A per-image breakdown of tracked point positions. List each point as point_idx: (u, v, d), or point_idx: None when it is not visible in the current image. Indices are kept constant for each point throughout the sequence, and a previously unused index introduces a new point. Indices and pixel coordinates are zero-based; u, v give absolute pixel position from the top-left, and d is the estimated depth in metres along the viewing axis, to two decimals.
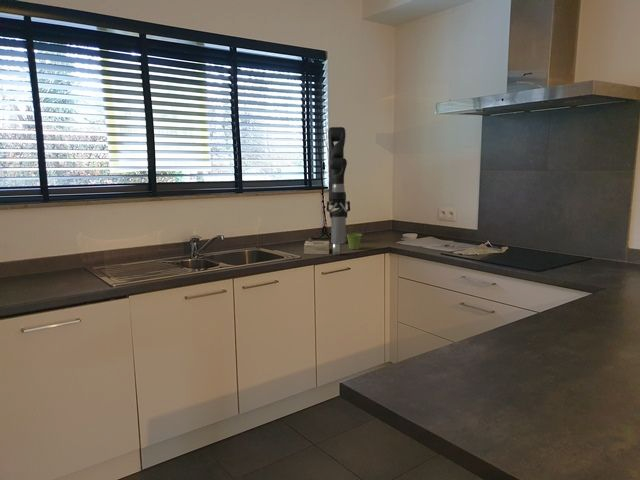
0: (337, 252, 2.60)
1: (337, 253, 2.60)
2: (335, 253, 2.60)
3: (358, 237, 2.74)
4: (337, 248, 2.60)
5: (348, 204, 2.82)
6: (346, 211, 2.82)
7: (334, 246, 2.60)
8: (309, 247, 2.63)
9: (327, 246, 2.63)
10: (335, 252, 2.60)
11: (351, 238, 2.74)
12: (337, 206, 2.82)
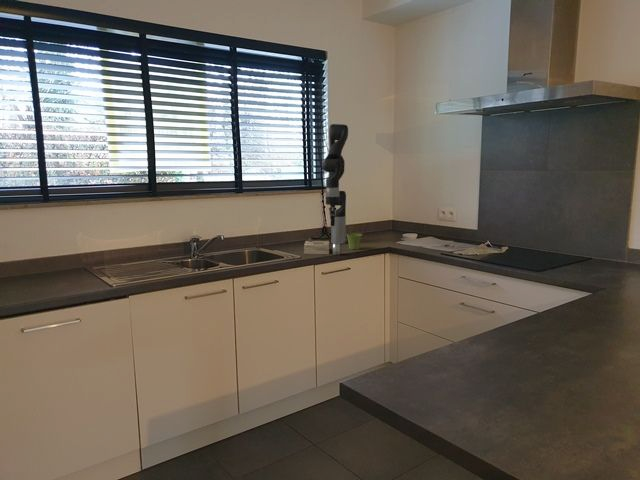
0: (337, 252, 2.60)
1: (337, 253, 2.60)
2: (335, 253, 2.60)
3: (358, 237, 2.74)
4: (337, 248, 2.60)
5: None
6: None
7: (334, 246, 2.60)
8: (309, 247, 2.63)
9: (327, 246, 2.63)
10: (335, 252, 2.60)
11: (351, 238, 2.74)
12: None
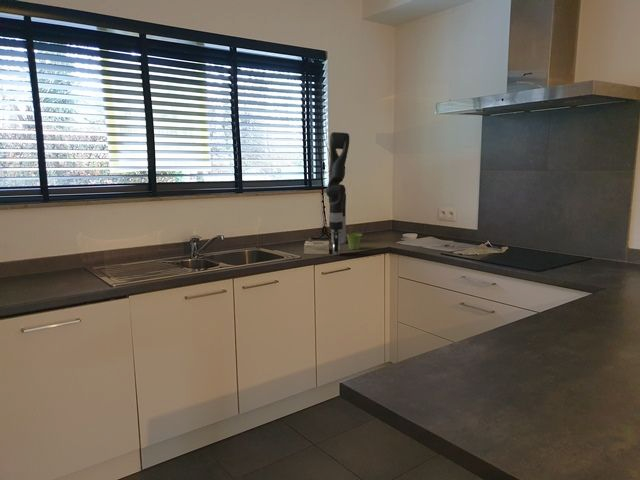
0: (337, 252, 2.60)
1: (337, 253, 2.60)
2: (335, 253, 2.60)
3: (358, 237, 2.74)
4: None
5: None
6: None
7: None
8: (309, 247, 2.63)
9: (327, 246, 2.63)
10: (335, 252, 2.60)
11: (351, 238, 2.74)
12: None
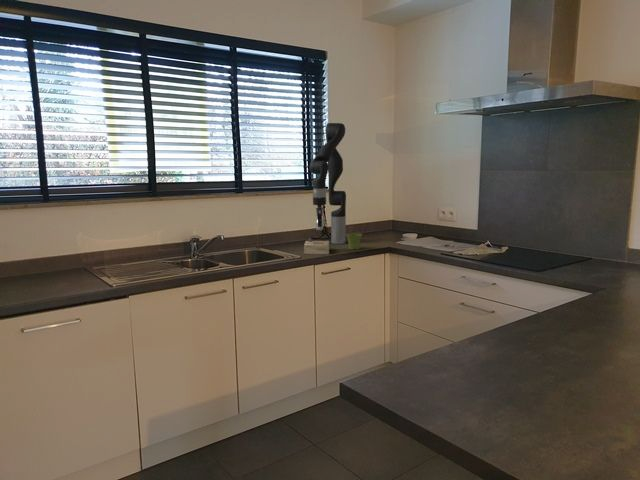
0: (321, 227, 2.67)
1: (321, 228, 2.67)
2: (319, 228, 2.67)
3: (358, 237, 2.74)
4: None
5: None
6: (321, 218, 2.71)
7: None
8: (309, 247, 2.63)
9: (327, 246, 2.63)
10: (319, 227, 2.67)
11: (351, 238, 2.74)
12: None
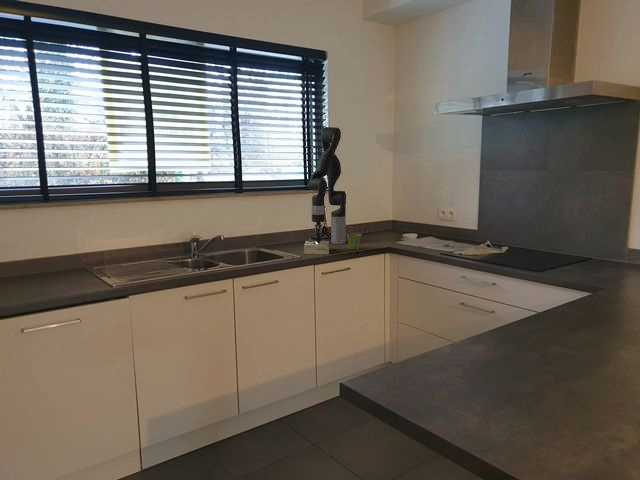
0: None
1: None
2: None
3: (358, 237, 2.74)
4: None
5: None
6: (320, 233, 2.74)
7: (316, 243, 2.69)
8: (309, 247, 2.63)
9: (327, 246, 2.63)
10: None
11: (351, 238, 2.74)
12: None
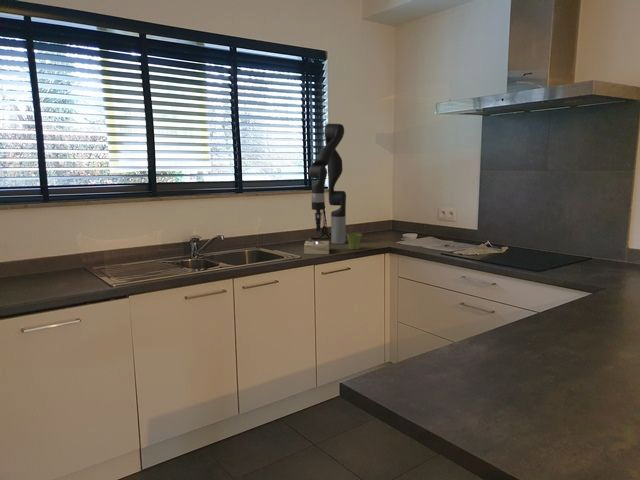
0: None
1: None
2: None
3: (358, 237, 2.74)
4: None
5: None
6: (320, 223, 2.72)
7: (316, 243, 2.69)
8: (309, 247, 2.63)
9: (327, 246, 2.63)
10: None
11: (351, 238, 2.74)
12: None
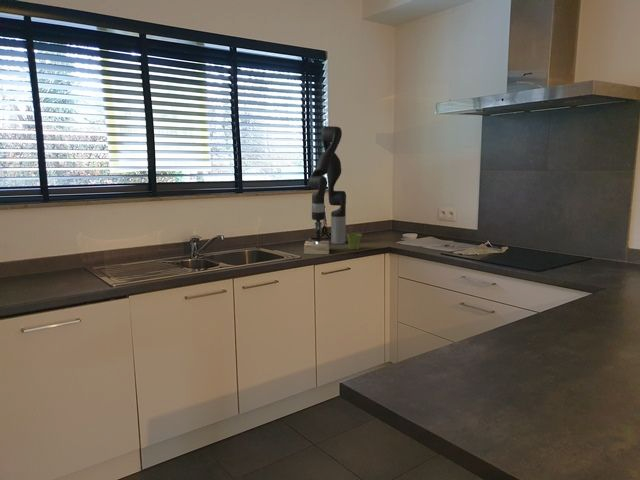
0: None
1: None
2: None
3: (358, 237, 2.74)
4: None
5: None
6: None
7: (316, 243, 2.69)
8: (309, 247, 2.63)
9: (327, 246, 2.63)
10: None
11: (351, 238, 2.74)
12: None
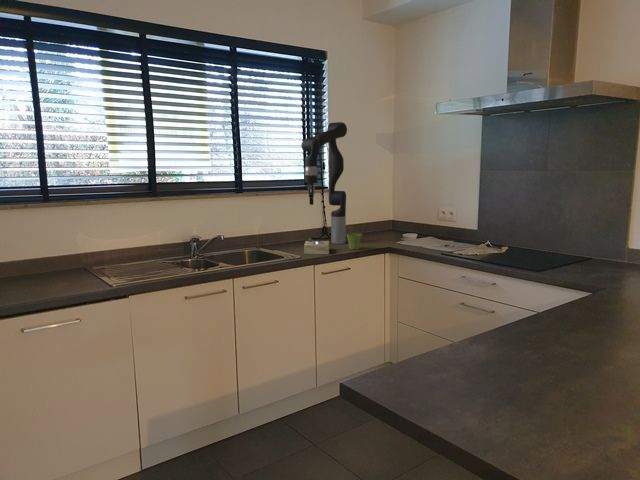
0: None
1: None
2: None
3: (358, 237, 2.74)
4: None
5: None
6: None
7: (316, 243, 2.69)
8: (309, 247, 2.63)
9: (327, 246, 2.63)
10: None
11: (351, 238, 2.74)
12: None
